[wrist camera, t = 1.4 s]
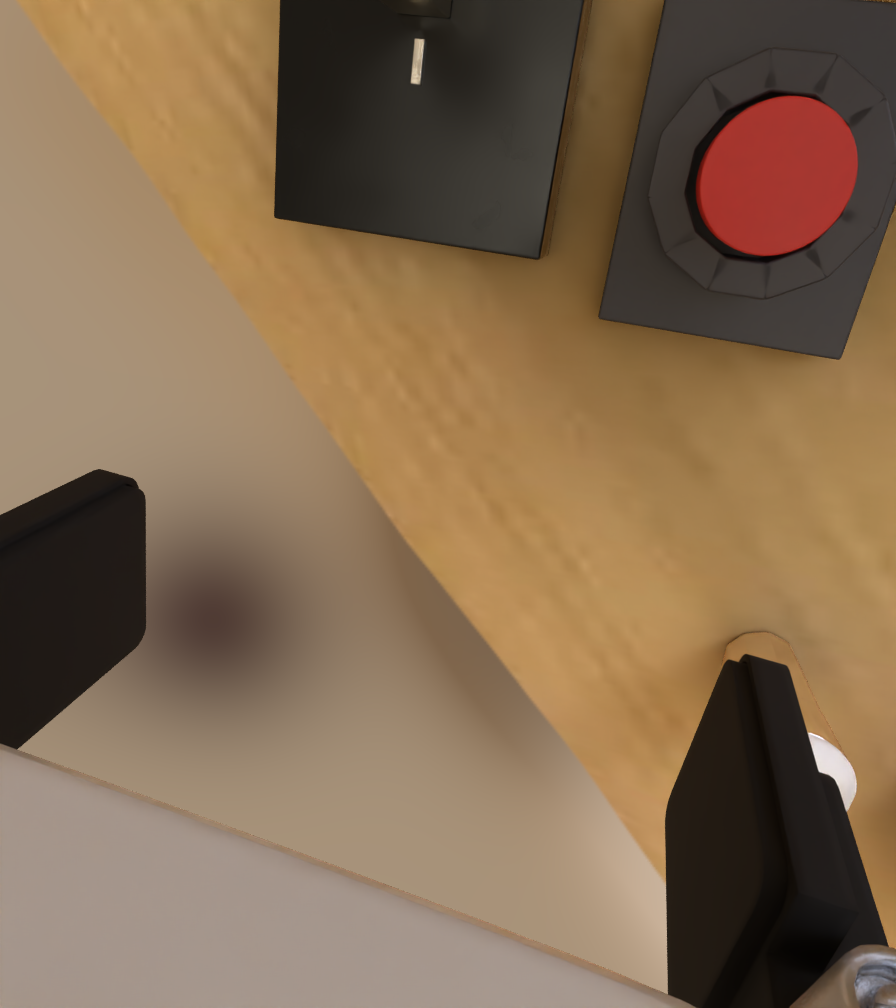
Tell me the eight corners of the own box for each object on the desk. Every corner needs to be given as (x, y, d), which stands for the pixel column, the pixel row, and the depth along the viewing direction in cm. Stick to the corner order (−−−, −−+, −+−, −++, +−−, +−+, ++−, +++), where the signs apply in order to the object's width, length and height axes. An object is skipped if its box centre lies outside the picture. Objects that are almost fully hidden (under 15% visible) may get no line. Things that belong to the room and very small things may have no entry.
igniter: (667, -4, 26) (669, -38, 22) (944, 21, 24) (995, -11, 20) (600, 312, 30) (593, 327, 27) (830, 351, 28) (855, 373, 25)
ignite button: (716, 96, 23) (721, 87, 21) (862, 113, 23) (882, 104, 21) (680, 241, 25) (682, 244, 23) (814, 261, 24) (828, 266, 22)
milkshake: (694, 702, 36) (707, 869, 27) (719, 609, 34) (743, 756, 25) (792, 724, 35) (840, 904, 26) (824, 630, 33) (889, 790, 24)
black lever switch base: (318, -225, 26) (284, -268, 23) (630, -214, 24) (627, -259, 21) (300, 217, 32) (271, 218, 29) (548, 256, 30) (538, 260, 27)
